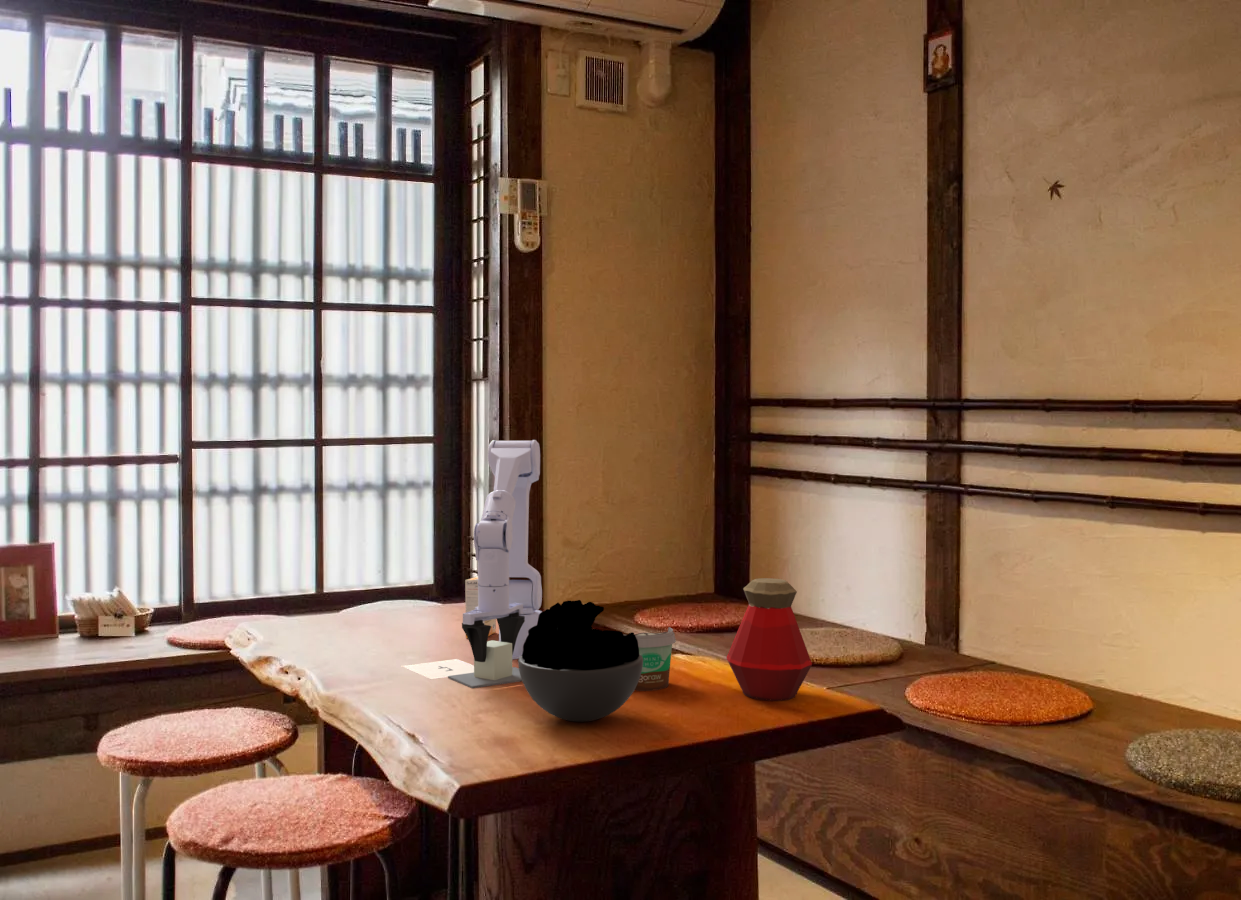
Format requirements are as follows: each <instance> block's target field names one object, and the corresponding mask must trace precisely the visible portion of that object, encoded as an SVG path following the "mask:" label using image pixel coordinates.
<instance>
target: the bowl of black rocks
mask: <svg viewBox="0 0 1241 900" xmlns="http://www.w3.org/2000/svg"><path fill="white" fill-rule="evenodd" d="M604 610H605V607H604V606H601V605H596V604H595V602H592V601H588V602H586V603H584V604H583V602H582V600H580V599H576V600H564V601H563V602H562V603H561V604H560V602H557V603H555V604H553V605H551V606H550V607H549V609H548V608H546V609H544V611H542V612H541V613H540V614H539V617H538V622H537V625H536V626H534V627H532V628H530V629H529V630H528V634H529V635H528V636H527V638H526V640H525V642H524V645H523V653H522V656H520V657H519V659H517V664H518V665H517V666H518V668H519V672H520V676H521V679H522V681H521V682H522V684H523V686H524V688H525V691H526V692H527V693H528V695H529V696H530V698H531V699H532V700H533V701H534V702H535V703H536V704H537V705H538V706H539V707H540V708H541V709H542V710H544V711H545V712H547V713H548V714H550V715H551V716H554V717H556V718H559V719H561V720H564V721H569V722H578V723H580V722H581V723H583V722H591V721H596V720H599V719H602V718H605V717H607V716H610V715H611V714H613V713H614V712H616V711H617V710H619V709H620V708H621V707H622V706H623V705H624V704H626V702H627V701H628V700H629V698H630V697H631V696H632V695H633V694H634V692H635V688H636V686H637V684H638V681H639V679H640V676H641V672H642V667H643V657H642V656H641V655H640V654H639V646H638V640H637V638H636V636H635V633H634V632H633V631H632V632H629V633H628V634H625V635H623V634H624V633H623V632H622V631H620V630H610V629H605V630H603V629H600V628H593V627H592V626H593V624H594V623H595V620H596V618H597V617H598V616H599V615H600V614H601V613H603V612H604Z"/></svg>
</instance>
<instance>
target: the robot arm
mask: <svg viewBox="0 0 1241 900" xmlns="http://www.w3.org/2000/svg"><path fill="white" fill-rule="evenodd" d="M487 451H488V452H487V462H488V466H489V468H490V471H491V473H492V475H493V476H494V482H493V483H494V484H493V491H491V492H490V493H489V492H488V494H487V496H486V497H485V502H484V506H483V510H482V515H481V519H480V521H479V522H477V523H475V525H474V529H473V545H474V550H475V561H477V576H478V607H475V610H472V611H470V612H467V613H466V612H462V622H461V629H462V630H463V632H464V634H465V636H466V635H467V637H468V638H467V639H468V642H469V644H470V648H471V652H472V655H473V661H474V660H475V661H477V662H485V660H486V652H487V641H489V640H488V639H489V636H488V635H489V632H490V629H491V626H489V625H484V623H483V621H487V620H492V619H496V623H497V625H498V641H500V642H507V643H512V661H514V660H518V659H519V657H520V656H522V653H523V645H524V642H525V640H526V638H527V636H528V635H529V634H528V630H529V629H530V628H532V627H534V626H536V625H537V622H538V617H539V614H540V613H541V612H543V611H542V610H539V609H540V608H541V606H542V601H543V599H542V598H543V589H542V576H541V573H540V572H539V571H538V570H537V569H536V568H534V567H533V566H532V565H531V564H529V559H528V558H529V557H528V556H529V519H530V518H529V515H530V514H529V512H530V511H529V510H530V509H529V507H530V492H531V486H532V484H533V483H535V482H538V481H539V479H540V475H541V448H540V443H539V442H538V441H537V439H532V440H496V439H493V440H491V441H490V443H489V445H488V450H487ZM510 578H527V579H510Z"/></svg>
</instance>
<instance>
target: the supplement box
mask: <svg viewBox="0 0 1241 900" xmlns="http://www.w3.org/2000/svg"><path fill="white" fill-rule="evenodd" d="M464 584H465V587H464V588H465V593H464V594H465V597H464V598H465V613H467V612H470V611H472V610H475V607H478V575H476V576H473V577H471V578H468V579H465V581H464ZM483 623H484V625H489V626H491V629H490V632H489V635H488V637H490V636H491V635H493V634H496V632H497V619H492V620H487V621H483ZM465 639H468V637H467V635H466V634H465Z"/></svg>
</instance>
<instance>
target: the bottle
mask: <svg viewBox="0 0 1241 900" xmlns="http://www.w3.org/2000/svg"><path fill="white" fill-rule="evenodd" d="M742 590H743V592H744V595H745V597H746V599H747V601H748V606H747V607H746V611H745V612H744V615H743V618H742V619H741V623H740V624H739V627H738V629H737V631H736V634H735V636H734V639H733V641H732V643H731V646H730V648H729V650H728V653H727V655H726V660H727V663H728V664H729V666H730V668H731V670H732V673H733V674H734V677H735V679H736V680H737V683H738V684H739V687H740V689H741V691H742V694H744V696H745V697H748V698H750V699H753V700H754V699H755V700H760V701H768V702H769V701H770V702H780V701H789V700H792V699H793V698H795V697H796V696H797V693H798V692H799V690H800V688H801V686H802V684H803V683H804V681H805V679H806V677H807V675H808V673H809V671H810V669H811V668H812V665H813V662H812V660H811V657H810V654H809V652H808V649H807V647H806V644H805V643H806V642H805V641H804V638H803V636H802V632H801V630H800V628H799V624H798V621H797V619H796V616H795V614H794V611H793V607H792V605H793V602H794V600H795V597H796V596H797V592H798V590H796V589H795V588H794V587H793V586H792V585H791V584H790V583H789V582H788V581H787V580H786V579H782V578H772V577H771V578H767V577H764V578H755V579H752V580H751V581H750V582H749V583H747V585H746V586H743V588H742Z"/></svg>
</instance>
